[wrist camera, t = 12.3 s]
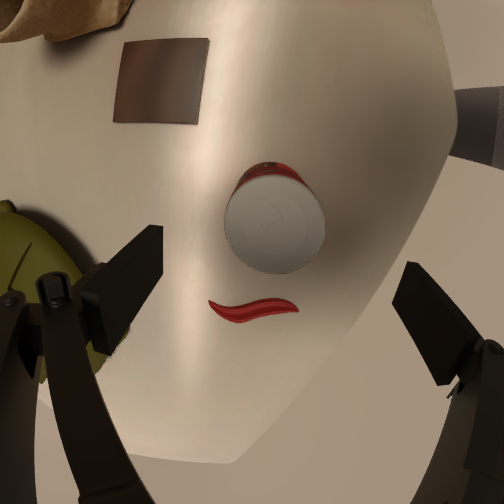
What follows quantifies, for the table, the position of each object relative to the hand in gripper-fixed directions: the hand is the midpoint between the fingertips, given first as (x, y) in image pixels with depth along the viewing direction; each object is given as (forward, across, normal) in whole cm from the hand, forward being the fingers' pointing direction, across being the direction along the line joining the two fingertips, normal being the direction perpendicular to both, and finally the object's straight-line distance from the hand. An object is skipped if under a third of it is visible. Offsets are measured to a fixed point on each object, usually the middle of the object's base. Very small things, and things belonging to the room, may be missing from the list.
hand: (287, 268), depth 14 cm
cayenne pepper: (+19, -1, -16) cm, 24 cm away
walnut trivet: (+18, -14, +12) cm, 26 cm away
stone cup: (+18, -26, +23) cm, 39 cm away
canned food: (+19, 0, 0) cm, 19 cm away
